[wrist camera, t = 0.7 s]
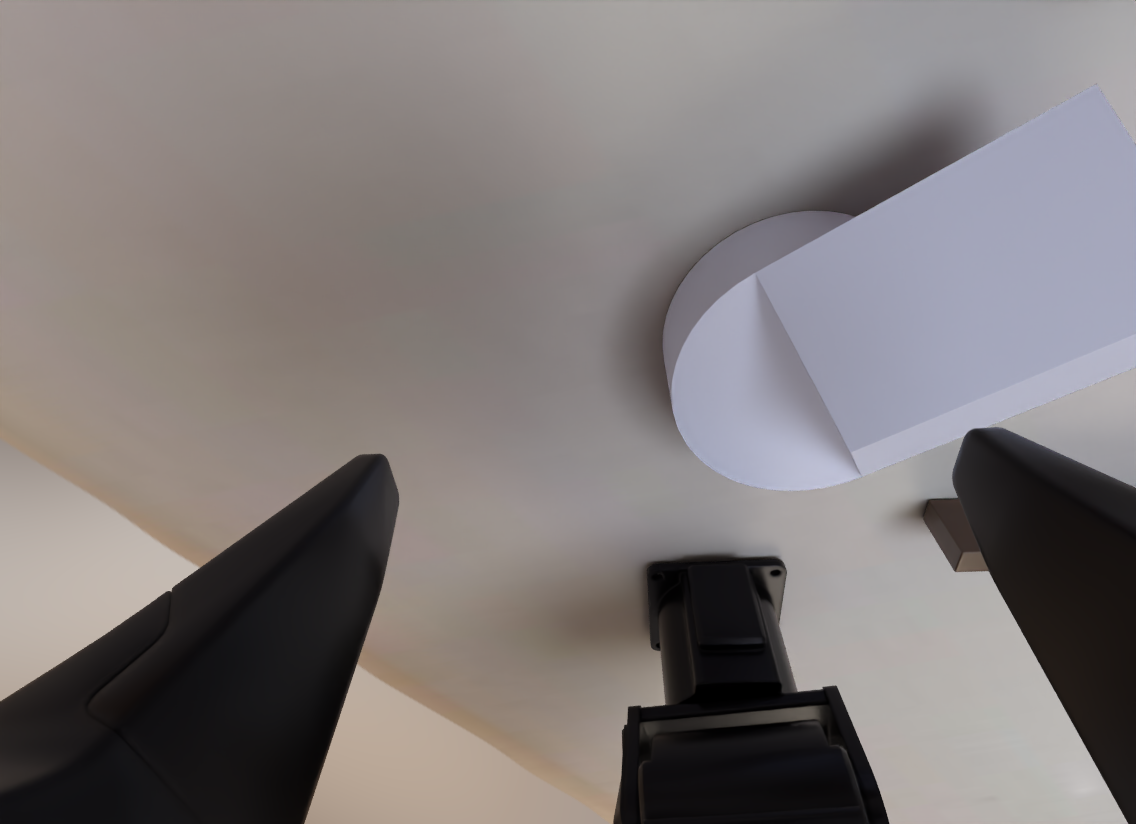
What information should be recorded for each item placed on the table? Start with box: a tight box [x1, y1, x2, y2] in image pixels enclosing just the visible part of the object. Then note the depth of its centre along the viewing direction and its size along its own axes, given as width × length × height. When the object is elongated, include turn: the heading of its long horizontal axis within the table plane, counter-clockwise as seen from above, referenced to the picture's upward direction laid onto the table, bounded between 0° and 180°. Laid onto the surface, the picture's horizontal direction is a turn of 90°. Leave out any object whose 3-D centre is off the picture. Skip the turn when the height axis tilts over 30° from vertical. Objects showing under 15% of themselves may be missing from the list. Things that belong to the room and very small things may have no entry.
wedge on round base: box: [662, 84, 1136, 491], centre depth 18 cm, size 9×7×13 cm
